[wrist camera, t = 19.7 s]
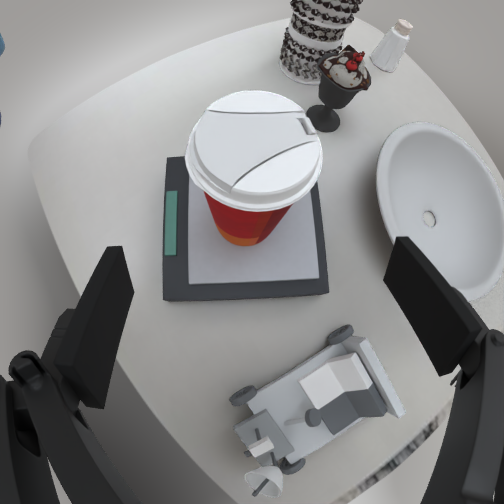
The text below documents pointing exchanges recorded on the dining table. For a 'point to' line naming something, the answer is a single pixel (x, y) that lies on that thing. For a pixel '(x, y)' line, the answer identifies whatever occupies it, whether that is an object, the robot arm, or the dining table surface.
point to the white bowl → (443, 204)
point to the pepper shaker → (392, 46)
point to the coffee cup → (253, 162)
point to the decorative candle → (314, 36)
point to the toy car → (312, 407)
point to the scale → (237, 249)
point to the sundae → (338, 86)
